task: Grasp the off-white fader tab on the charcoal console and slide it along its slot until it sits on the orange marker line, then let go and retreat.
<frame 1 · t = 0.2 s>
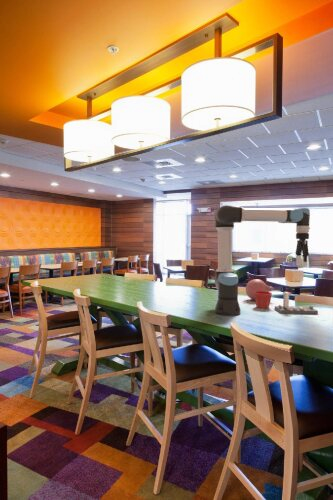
hand: (301, 266, 209), 28 cm above the table, fingers open, 13 cm apart
flower pot: (262, 307, 217), on the table
fader tab: (286, 300, 204), point 7 cm above the table, slide at -6.0 cm
console: (295, 311, 204), on the table
balloon: (259, 300, 240), on the table
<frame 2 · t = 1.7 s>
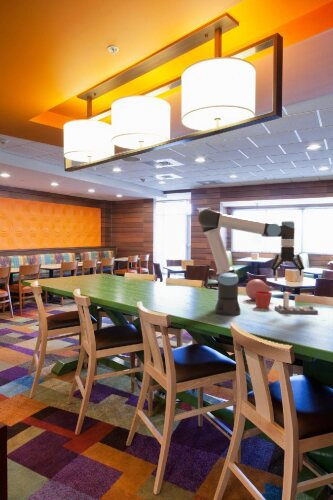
hand: (286, 281, 204), 19 cm above the table, fingers open, 13 cm apart
nothing on the table moved.
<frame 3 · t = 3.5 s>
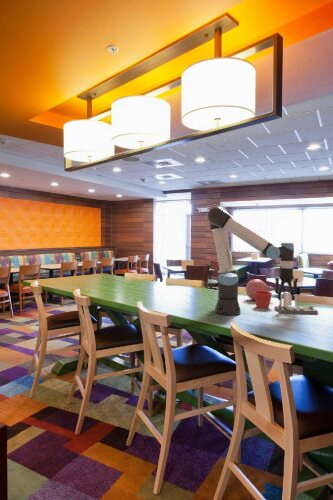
hand: (285, 305, 204), 4 cm above the table, fingers open, 5 cm apart
nothing on the table moved.
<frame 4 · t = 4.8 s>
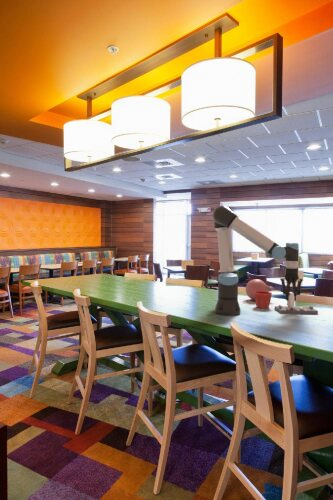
hand: (290, 305, 204), 4 cm above the table, fingers closed on fader tab, 2 cm apart
fader tab: (290, 300, 204), point 7 cm above the table, slide at -3.1 cm, touching gripper
everything else where it was.
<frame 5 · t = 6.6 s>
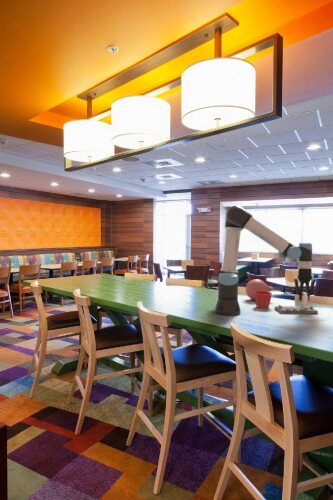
hand: (304, 306, 204), 4 cm above the table, fingers closed on fader tab, 2 cm apart
fader tab: (304, 300, 204), point 7 cm above the table, slide at 5.0 cm, touching gripper
everything else where it was.
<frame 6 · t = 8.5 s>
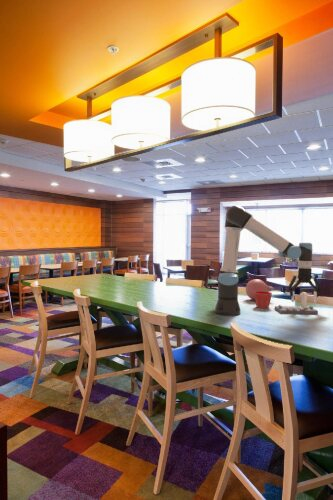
hand: (303, 302, 204), 6 cm above the table, fingers open, 13 cm apart
fader tab: (304, 300, 204), point 7 cm above the table, slide at 5.1 cm
everything else where it was.
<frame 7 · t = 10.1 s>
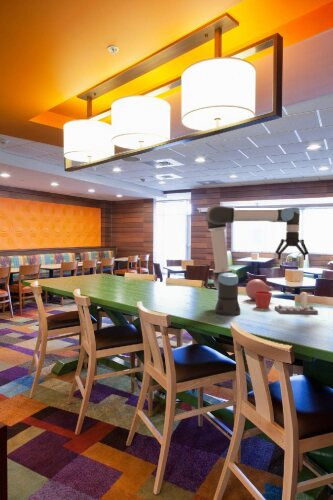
hand: (291, 265, 211), 28 cm above the table, fingers open, 13 cm apart
nothing on the table moved.
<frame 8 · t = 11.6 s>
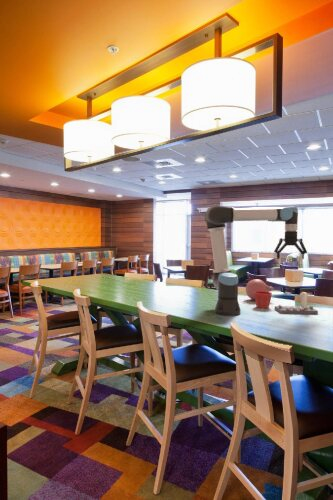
hand: (290, 264, 212), 29 cm above the table, fingers open, 13 cm apart
nothing on the table moved.
at the end: fader tab slide at 5.1 cm; the gripper is holding nothing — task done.
